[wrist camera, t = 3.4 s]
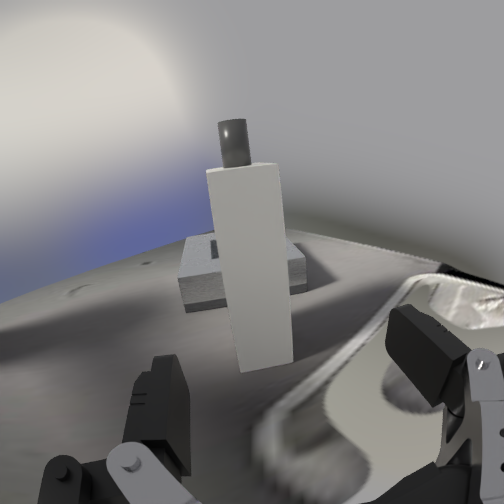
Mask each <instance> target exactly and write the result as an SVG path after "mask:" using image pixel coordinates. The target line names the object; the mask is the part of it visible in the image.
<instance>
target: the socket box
mask: <svg viewBox="0 0 504 504" xmlns="http://www.w3.org/2000/svg"><path fill="white" fill-rule="evenodd" d="M285 238H286V250H287V263H288V277H289V291H290V295H292V294H297V293H302V292H307V273H306V257H305V256H304V255H303V253H302V252H301V251H300V250H299V249H298V248H297V247H296V246H295V245H294V244H293V243H292V242H291V241H290V240H289V239H288V238H287V237H286V236H285ZM178 283H179V287H180V291H181V295H182V299H183V303H184V307H185V311H186V313H188V312H195V311H201V310H208V309H214V308H220V307H226V306H227V300H226V295H225V289H224V283H223V278H222V272H221V266H220V260H219V254H218V248H217V242H216V235H215V233H209V234H203V235H197V236H191V237H187V238H186V242H185V247H184V251H183V255H182V260H181V264H180V269H179V273H178Z"/></svg>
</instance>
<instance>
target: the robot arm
mask: <svg viewBox="0 0 504 504" xmlns="http://www.w3.org/2000/svg"><path fill="white" fill-rule="evenodd" d="M385 346H386V350H387V352H388V354H389V356H390V357H391V358H392V359H393V360H394V362H395V363H396V364H397V365H398V366H399V367H400V369H401V370H402V371H403V372H404V373H405V375H406V376H407V377H408V378H409V379H410V381H411V382H412V383H413V384H414V385H415V387H416V388H417V389H418V390H419V391H420V393H421V394H422V395H423V396H424V398H425V399H426V400H427V401H428V402H429V404H430V405H431V406H432V407H435V406H437V405H438V404H440V403H442V402H444V403H445V407H444V409H443V425H442V440H441V449H440V453H439V455H438V458H437V460H436V462H435V463H434V462H431V463H430V464H428V465H426V466H424V467H423V468H421V469H419V470H417V471H416V472H414V473H412V474H410V475H408V476H406V477H404V478H403V479H402V480H401V481H399V482H398V483H397V484H396V485H395V486H393V487H392V488H391V489H389V490H388V491H387V492H385V493H384V494H383V495H381V496H380V497H379V498H377V499H376V500H374V501H371V502H367V503H361V504H504V353H502V354H498V355H496V354H494V353H493V352H492V351H490V350H487V349H482V348H478V349H474V350H471V349H470V348H469V347H467V346H466V345H465V344H464V343H463V342H462V341H460V340H459V339H458V338H457V337H456V336H455V335H453V334H452V333H451V332H450V331H447V329H446V328H445V327H444V326H443V325H442V326H441V324H440V323H439V322H438V321H437V320H435V319H434V318H433V317H431V316H429V315H426V314H424V313H422V312H419V311H418V310H417V309H416V308H414V307H413V306H412V305H410V304H406V305H403V306H400V307H397V308H394V309H392V310H391V311H390V314H389V321H388V327H387V334H386V339H385ZM181 476H191V452H190V395H189V389H188V386H187V383H186V380H185V377H184V375H183V372H182V369H181V366H180V364H179V361H178V358H177V356H176V355H175V354H173V355H164V356H155V357H154V358H153V363H152V368H151V371H148V372H142V373H141V375H140V376H139V377H138V379H137V380H136V381H135V383H134V387H133V391H132V396H131V400H130V406H129V410H128V415H127V420H126V425H125V430H124V435H123V440H122V444H120V445H118V446H116V447H115V448H114V449H112V451H111V452H110V453H109V455H108V457H107V458H106V459H103V460H99V461H94V462H89V463H84V464H80V463H79V462H78V461H77V460H76V459H75V458H73V457H71V456H68V455H59V456H56V457H54V458H53V459H51V460H50V461H49V462H48V463H47V465H46V467H45V470H44V474H43V478H42V483H41V488H40V493H39V498H38V504H202V503H201V502H200V501H198V500H197V499H196V498H194V497H193V496H192V495H191V494H190V493H189V492H188V491H187V490H186V489H185V488H184V487H183V486H182V485H181Z"/></svg>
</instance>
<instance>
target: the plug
mask: <svg viewBox="0 0 504 504" xmlns="http://www.w3.org/2000/svg"><path fill="white" fill-rule="evenodd" d="M218 129H219V137H220V146H221V153H222V161H223V167H221V168H215V169H207V170H206V175H207V181H208V189H209V196H210V202H211V210H212V216H213V222H214V229H215V235H216V242H217V248H218V254H219V260H220V266H221V272H222V278H223V283H224V289H225V295H226V300H227V306H228V311H229V317H230V322H231V327H232V333H233V338H234V343H235V348H236V353H237V358H238V363H239V368H240V373H243V372H249V371H254V370H260V369H265V368H270V367H274V366H279V365H284V364H288V363H293V342H292V323H291V306H290V291H289V277H288V263H287V250H286V238H285V226H284V215H283V205H282V195H281V184H280V174H279V165H278V164H276V163H251V157H250V149H249V141H248V134H247V133H248V132H247V124H246V119H232V120H226V121H222V122H219V123H218Z"/></svg>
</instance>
